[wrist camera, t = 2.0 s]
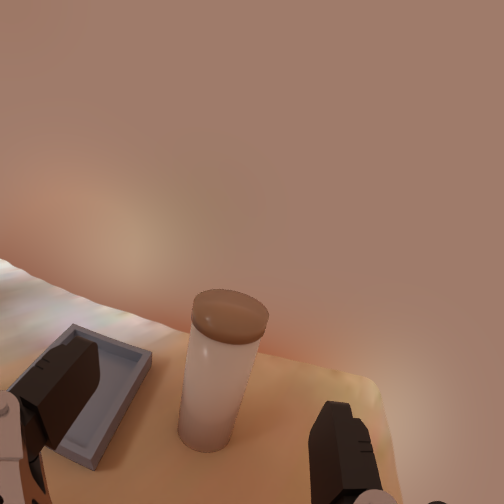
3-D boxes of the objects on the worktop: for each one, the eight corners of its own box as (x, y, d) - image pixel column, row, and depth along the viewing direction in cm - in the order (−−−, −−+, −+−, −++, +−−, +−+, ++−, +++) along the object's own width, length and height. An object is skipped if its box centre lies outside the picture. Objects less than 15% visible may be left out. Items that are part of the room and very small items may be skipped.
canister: (170, 444, 23) (184, 316, 19) (183, 406, 28) (202, 283, 24) (227, 458, 23) (267, 337, 19) (234, 419, 28) (269, 299, 23)
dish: (0, 417, 18) (-6, 403, 17) (74, 336, 33) (73, 323, 32) (94, 471, 18) (90, 460, 17) (151, 365, 32) (152, 352, 32)
